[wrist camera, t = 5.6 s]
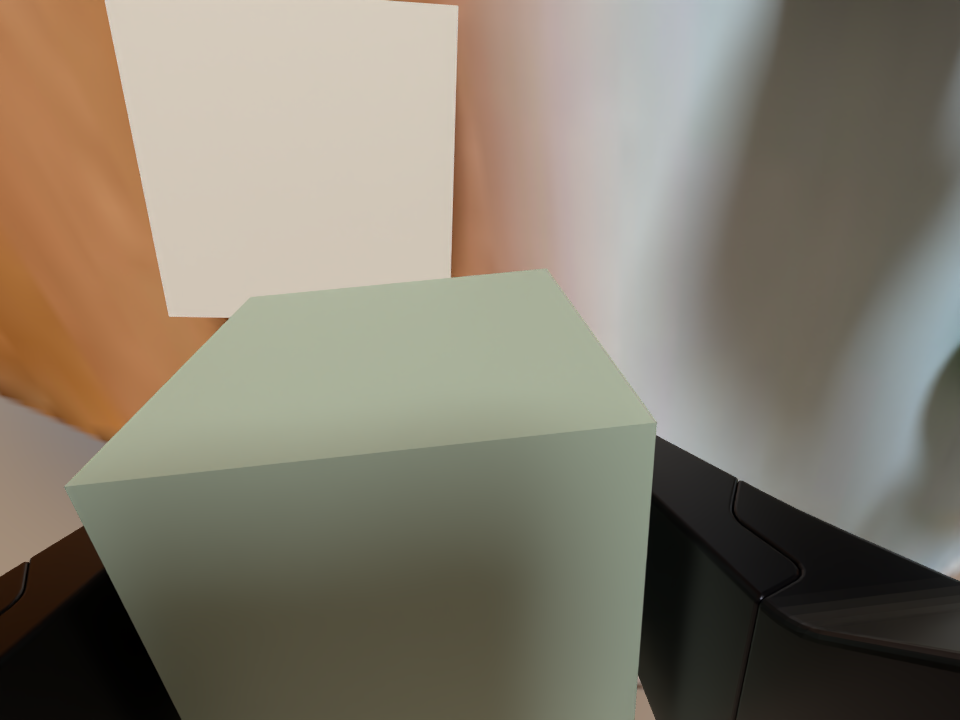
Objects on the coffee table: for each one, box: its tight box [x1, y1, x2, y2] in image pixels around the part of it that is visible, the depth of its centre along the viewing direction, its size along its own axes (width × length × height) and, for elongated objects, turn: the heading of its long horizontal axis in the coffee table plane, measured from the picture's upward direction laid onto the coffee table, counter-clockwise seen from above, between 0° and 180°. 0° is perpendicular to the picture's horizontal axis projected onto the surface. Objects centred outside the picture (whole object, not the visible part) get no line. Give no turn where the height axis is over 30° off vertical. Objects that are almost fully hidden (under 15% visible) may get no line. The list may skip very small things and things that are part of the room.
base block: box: [105, 0, 458, 318], centre depth 16 cm, size 8×8×4 cm
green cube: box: [64, 269, 657, 720], centre depth 8 cm, size 5×5×5 cm
